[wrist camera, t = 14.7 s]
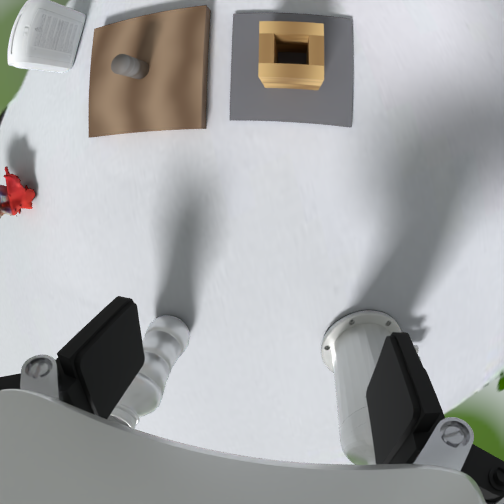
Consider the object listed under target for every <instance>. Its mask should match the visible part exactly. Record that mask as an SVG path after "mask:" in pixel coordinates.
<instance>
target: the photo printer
mask: <svg viewBox="0 0 504 504" xmlns="http://www.w3.org/2000/svg"><path fill="white" fill-rule="evenodd" d="M85 18H86V15H85V14H83V13H81V12H79V11H76V10H73V9H71V8H68V7H66V6H63V5H61V4H58V3H55V2H53V1H50V0H28V1H27V2H26V3H25V4H24V6H23V8H22V9H21V10H20V12H19V14H18V16H17V18H16V20H15V23H14V26H13V28H12V31H11V35H10V39H9V45H8V64H9V65H10V66H15V67H17V68H24V69H33V70H42V71H50V72H57V73H65V72H67V71H69V70H70V69H71V68H72V65H73V62H74V59H75V55H76V51H77V48H78V44H79V40H80V36H81V33H82V30H83V26H84V22H85Z"/></svg>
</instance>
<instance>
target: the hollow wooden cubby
mask: <svg viewBox="0 0 504 504" xmlns="http://www.w3.org/2000/svg"><path fill="white" fill-rule="evenodd" d="M278 52H295V53H306V65H304V64H283V63H278ZM258 77H259V79H260V80H261V82H262V83H263V85H264V87H265V88H288V89H306V90H319V88H320V86H321V85H322V83H323V81H324V24H322V23H309V22H289V21H259V68H258Z"/></svg>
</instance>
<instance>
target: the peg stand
mask: <svg viewBox="0 0 504 504" xmlns="http://www.w3.org/2000/svg"><path fill="white" fill-rule="evenodd" d="M210 13H211V11H210V9H209V8H208V7H207V5H204V6H195V7H188V8H181V9H175V10H169V11H164V12H158V13H153V14H149V15H144V16H140V17H135V18H131V19H127V20H124V21H120V22H116V23H113V24H109V25H106V26H102V27H99V28H96V29H94V37H93V46H92V57H91V69H90V86H89V137H98V136H106V135H115V134H124V133H135V132H147V131H161V130H179V129H206V102H207V71H208V48H209V29H210Z"/></svg>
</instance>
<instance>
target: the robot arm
mask: <svg viewBox="0 0 504 504" xmlns="http://www.w3.org/2000/svg"><path fill="white" fill-rule="evenodd" d="M321 353H322V359H323V362H324V364H325V365H326V367H327V368H328V369H329V370H330V371H332V372H333V373H334V378H335V387H336V398H337V409H338V421H339V434H340V443H341V447H342V450H343V452H344V454H345V455H346V457H347V458H348V459H349V460H350V461H351V462H352V463H354V464H355V465H342V464H314V463H299V462H288V461H278V460H269V459H262V458H255V457H248V456H241V455H236V454H230V453H224V452H219V451H214V450H210V449H205V448H200V447H196V446H192V445H188V444H184V443H180V442H176V441H172V440H169V439H165V438H161V437H158V436H155V435H151V434H148V433H145V432H142V431H138V430H135V429H132V428H129V427H127V426H124V425H121V424H118V423H115V422H113V421H110V420H107V419H108V417H109V416H110V414H111V413H112V411H113V410H114V408H115V407H116V405H117V404H118V402H119V401H120V399H121V398H122V396H123V395H124V393H125V392H126V390H127V389H128V387H129V386H130V384H131V383H132V381H133V380H134V378H135V377H136V375H137V374H138V372H139V371H140V369H141V368H142V366H143V365H144V362H145V355H144V349H143V343H142V337H141V331H140V324H139V317H138V310H137V305H136V304H135V303H134V302H133V300H132V299H130V298H125V297H120V296H118V297H116V298H115V299H114V300H113V301H112V302H111V303H110V304H109V305H107V306H106V307H105V308H104V309H103V310H102V311H101V312H100V313H99V314H98V315H97V316H96V317H94V318H93V319H92V320H91V321H90V322H89V323H88V324H87V325H86V326H85V327H84V328H83V329H82V330H81V331H80V332H79V333H77V334H76V335H75V336H74V337H73V338H72V339H71V340H70V341H69V342H68V343H67V344H66V345H65V346H64V347H63V348H62V349H61V350H60V351H59V352H58V353H57V355H58V358H57V359H56V360H54V358H52V357H50V356H48V355H37V356H34V357H32V358H30V359H28V360H27V361H26V362H25V363H24V364H23V366H22V369H21V374H15V375H10V376H4V377H0V504H504V461H502V460H500V459H499V458H497V457H495V456H493V455H491V454H489V453H488V452H486V451H484V450H482V449H481V448H479V447H477V446H475V445H474V444H472V443H473V439H474V434H473V431H472V429H471V427H470V426H469V425H468V424H467V423H466V422H465V421H463V420H461V419H458V418H454V417H449V418H445V417H444V414H443V411H442V409H441V406H440V404H439V401H438V399H437V396H436V393H435V391H434V389H433V386H432V384H431V381H430V379H429V376H428V374H427V372H426V370H425V369H424V368H423V366H422V363H421V361H420V357H419V356H418V354H417V353H418V346H417V345H413V343H412V341H411V339H410V337H409V335H408V333H402V332H401V329H400V327H399V325H398V323H397V322H396V321H395V320H394V319H393V318H392V317H391V316H389V315H387V314H385V313H383V312H379V311H370V310H367V311H359V312H356V313H352V314H350V315H347V316H345V317H343V318H342V319H340V320H338V321H337V322H336V323H335V324H334V325H332V326H331V327H330V329H329V330H328V331H327V332H326V334H325V336H324V338H323V341H322V345H321Z"/></svg>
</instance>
